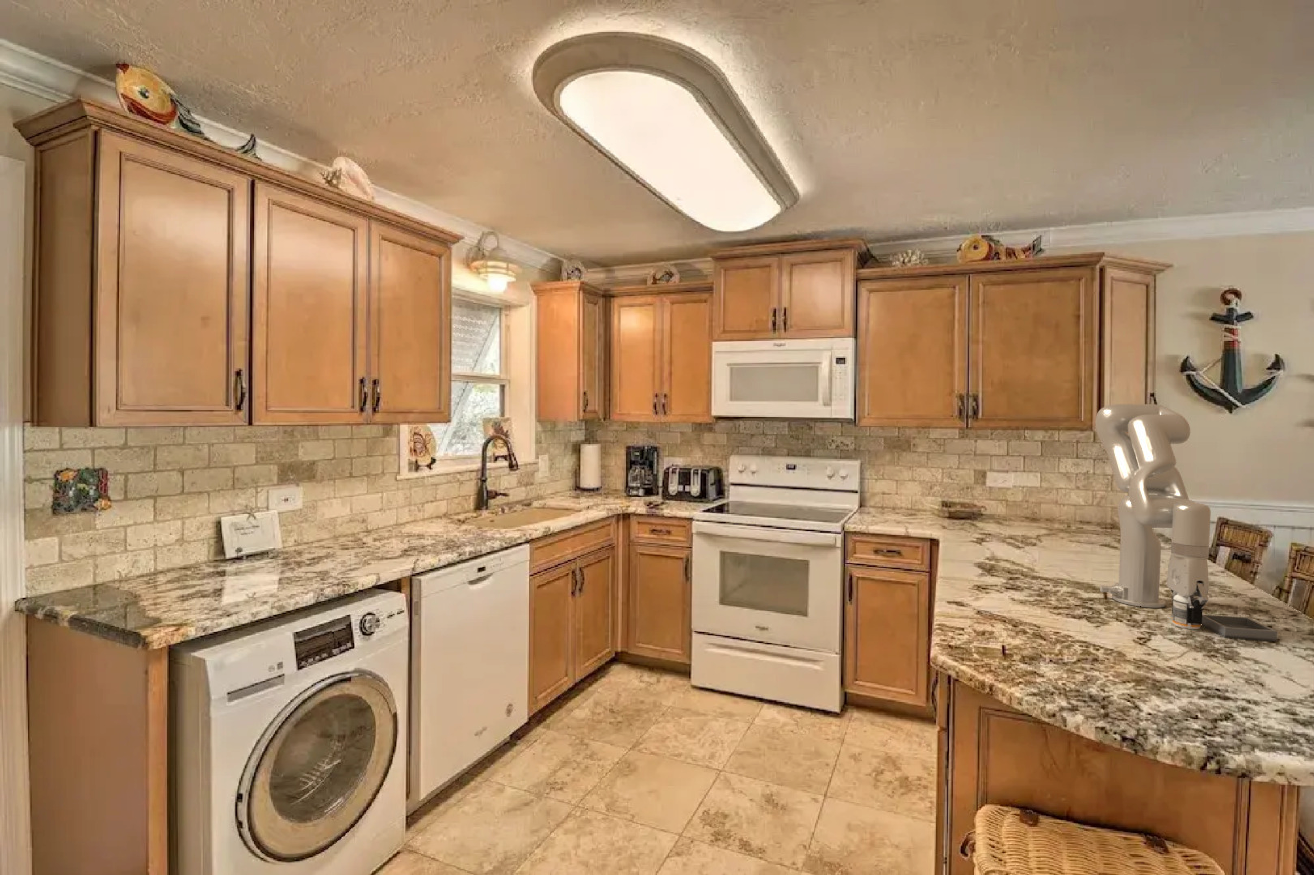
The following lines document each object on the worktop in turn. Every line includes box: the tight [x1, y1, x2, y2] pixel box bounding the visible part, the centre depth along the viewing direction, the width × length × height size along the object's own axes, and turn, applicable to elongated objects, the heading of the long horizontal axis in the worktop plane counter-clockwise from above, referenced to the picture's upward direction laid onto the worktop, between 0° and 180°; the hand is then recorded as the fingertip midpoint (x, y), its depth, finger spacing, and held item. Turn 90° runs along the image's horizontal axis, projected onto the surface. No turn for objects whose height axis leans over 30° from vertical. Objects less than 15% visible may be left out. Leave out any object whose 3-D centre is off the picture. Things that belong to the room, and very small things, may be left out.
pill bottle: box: [1172, 593, 1202, 630], centre depth 167 cm, size 6×6×10 cm
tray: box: [1201, 613, 1278, 642], centre depth 163 cm, size 11×11×2 cm
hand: (1186, 618), depth 167 cm, fingers closed on pill bottle, 5 cm apart
